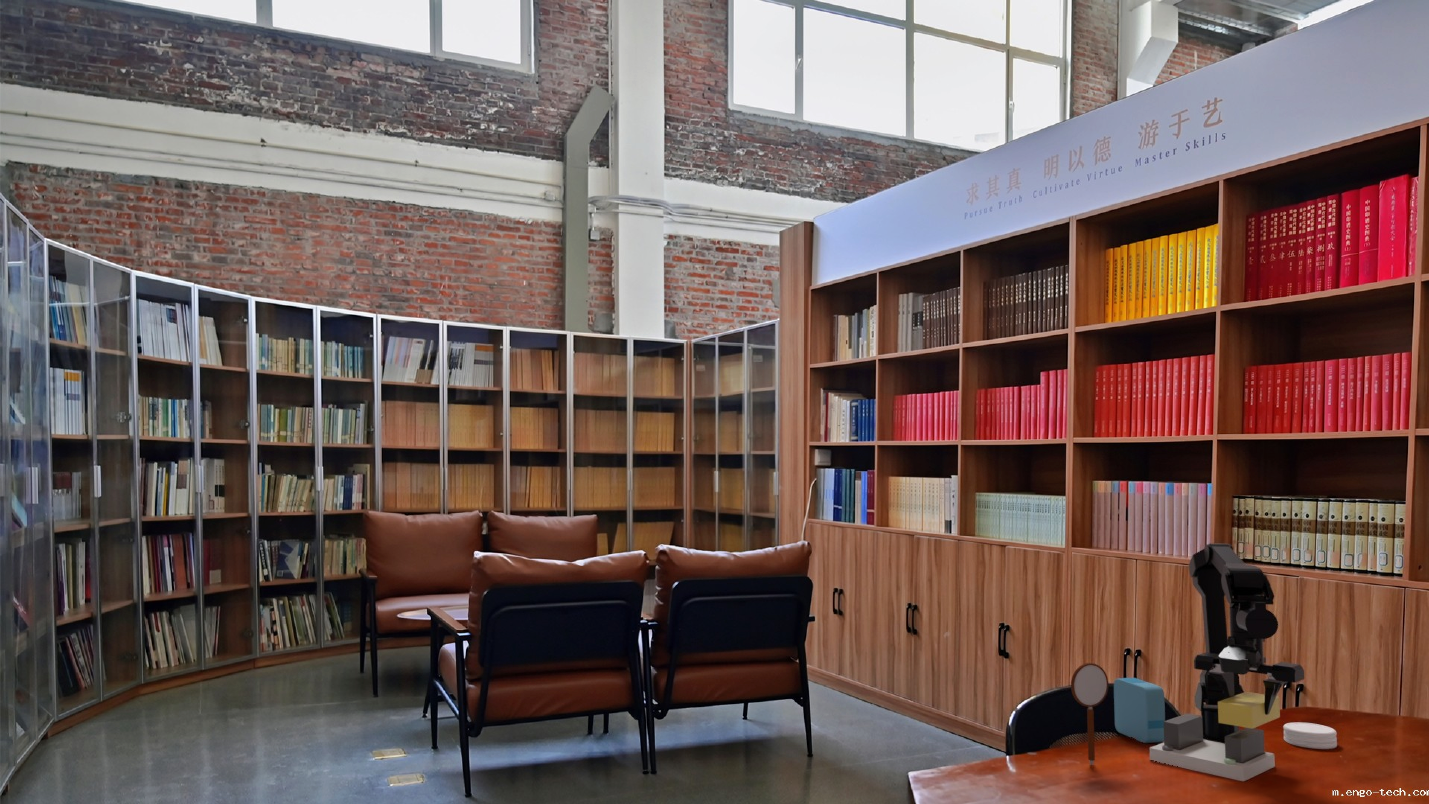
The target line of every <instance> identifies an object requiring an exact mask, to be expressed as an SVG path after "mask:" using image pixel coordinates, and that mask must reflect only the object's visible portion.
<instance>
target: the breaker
mask: <svg viewBox="0 0 1429 804" xmlns="http://www.w3.org/2000/svg"><path fill="white" fill-rule="evenodd" d="M1163 723H1164V742H1163V743H1164V745H1168V746H1172V747H1173V749H1176V750H1182V749H1185V748H1187V747H1190V746H1192V745H1195V744H1197V743H1200V742H1202V741H1203V740H1204V739H1203V724H1202V716H1201V714H1200V715H1199V714H1195V713H1194V714H1193V713H1189V712H1187V713H1185V714H1182V715H1179V716H1176V717H1173V718H1170V719H1167V720H1165V721H1164V722H1163Z"/></svg>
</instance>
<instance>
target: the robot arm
mask: <svg viewBox="0 0 1429 804" xmlns="http://www.w3.org/2000/svg"><path fill="white" fill-rule="evenodd" d="M1188 572H1189V576H1190V577H1191V578H1192V586H1193V587H1194V588H1195V590H1196V591H1197V592H1198V593H1199V595H1200V597H1201V603H1202V604H1201V605H1202V615H1203V616H1202V617H1203V618H1202V619H1203V631H1204V632H1203V633H1204V644H1205V645H1204V646H1205V652H1204V653H1199V654H1197V655H1195V656H1194V659H1193V669H1195V670H1199V671H1201V673H1200V674H1199V682H1198V684H1197V687H1196V690H1195V694H1194V703H1195V704H1194V705H1195V706H1194V707H1196V709H1197V710H1199V712H1200V713H1201V714H1200V716H1202V724H1203V740H1208V741H1213V742H1218V743H1223V744H1225V736H1227V735H1230V734H1232V733H1235V732H1237V731H1240V726H1235V725H1229V724H1223V723H1219V720H1218V702H1219V701H1221V700H1224V699H1227V698H1230V697H1233V696H1236V695H1238V694H1241V693H1244V692H1245V691H1244V689H1243V686H1242V684H1240V683H1241V682H1240V676H1239V675H1241V676H1242V675H1246V674H1249V673H1255V674H1263V675H1267V679H1263V680H1262V682H1263V686H1264V695H1265V702H1264V708H1265V714H1266V715H1268V714H1269V713H1270V711H1271V708H1272V706H1273V703H1274V701H1275V698H1276V696H1278V693H1279V692H1280V690H1281V688H1282V686H1283V685H1284V684H1288V683H1298V682H1300V681H1303V680H1305V669H1304V668H1303V666H1302V665H1301V664H1299V663H1291V662H1282V661H1281V662H1277V663H1274V664H1272V665H1271V664H1266V662H1267V661H1266V656H1265V657H1264V643H1265V642H1266V640H1267V639H1270V638H1271V637H1273V636H1275V634H1276V633H1277V632H1278V629H1279V621H1278V619H1277V616H1276V615H1275V614H1274V613H1273V612H1272V611H1271V610H1269V609H1268V608H1267V605H1270V606H1272V605H1274V599H1275V595H1274V591H1273V588H1272V585H1271V582H1270V580H1269V579H1268V576H1267V574H1266V573H1264V571H1263V570H1262V569H1261V568H1260V567H1258V566H1256V565H1251V564H1246V563H1245V562H1244V561H1243V559H1241V558H1240V557H1239V556H1238V554H1237V553H1236V552H1235V551H1234V548H1233V546H1232V544H1229V543H1217V542H1216V543H1214V542H1213V543H1211V542H1210V543H1208V544H1205V546H1204V548H1202V549H1201V550H1198V552H1195V553H1193V554H1192V556H1191V559H1190V561H1189V565H1188ZM1225 598H1226V600H1227V601H1226V602H1227V603H1228V604H1229V609H1228V610H1229V635H1228V627H1227V626H1228V625H1227V616H1226V615H1227V613H1226V603H1225Z"/></svg>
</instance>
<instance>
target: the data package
mask: <svg viewBox="0 0 1429 804" xmlns="http://www.w3.org/2000/svg"><path fill="white" fill-rule="evenodd" d="M1113 699H1114V700H1113V701H1114V703H1113V705H1114V706H1113V708H1114V727H1115V729H1116V731H1117V732H1118V733H1119V734H1121V735H1124V736H1126V737H1129V738H1131V737H1133V738H1135V739H1136V740H1135V739H1134V740H1135V741H1137V742H1140V743H1142V742H1143V744H1155V743H1157V744H1161V743H1164V723H1163V722H1164V721H1166V712H1165V711H1166V707H1165V692H1164V689H1163V687H1161V686H1160V685H1157V684H1155V683H1150V682H1148V681H1145V680H1142V679H1140V678H1136V677H1121V678H1115V680H1114V682H1113ZM1133 738H1132V739H1133Z"/></svg>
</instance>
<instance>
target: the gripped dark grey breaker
mask: <svg viewBox="0 0 1429 804" xmlns="http://www.w3.org/2000/svg"><path fill="white" fill-rule="evenodd" d="M1264 733H1265V730H1264V729H1258V728H1253V729H1252V728H1246V727H1244V728H1243V729H1239V731H1237V732H1235V733H1232V734H1230V735H1227V736H1225V743H1224V744H1225V758H1230V759H1234V760H1236V762H1237V763H1242V764H1243V763H1245V762H1248V761H1250V760H1252V759H1254V758H1256V757H1259V756H1261V755H1263V754H1265V752H1266V750H1265V734H1264Z"/></svg>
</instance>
